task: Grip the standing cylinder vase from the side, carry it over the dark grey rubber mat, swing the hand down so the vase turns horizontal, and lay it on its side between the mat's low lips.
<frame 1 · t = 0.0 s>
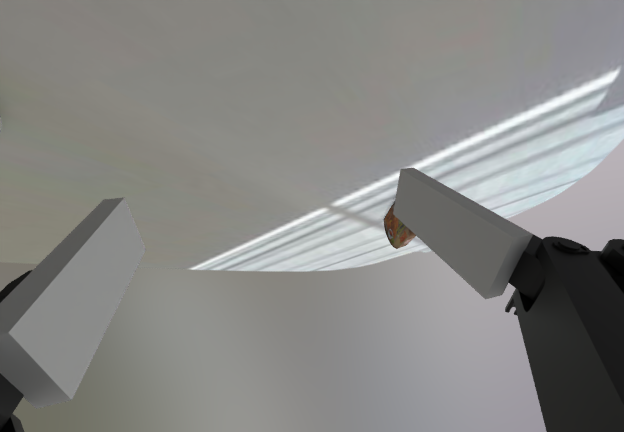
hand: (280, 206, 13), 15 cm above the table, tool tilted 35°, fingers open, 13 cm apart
tin: (393, 209, 62), on the table
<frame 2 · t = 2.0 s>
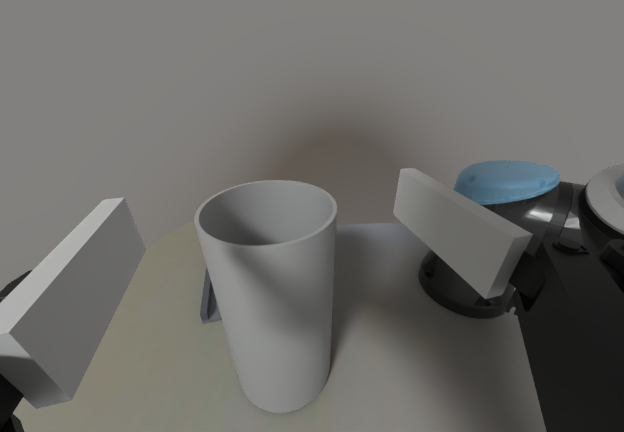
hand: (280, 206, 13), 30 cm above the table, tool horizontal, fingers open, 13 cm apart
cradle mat: (253, 257, 56), on the table
cylinder vase: (285, 364, 36), on the table
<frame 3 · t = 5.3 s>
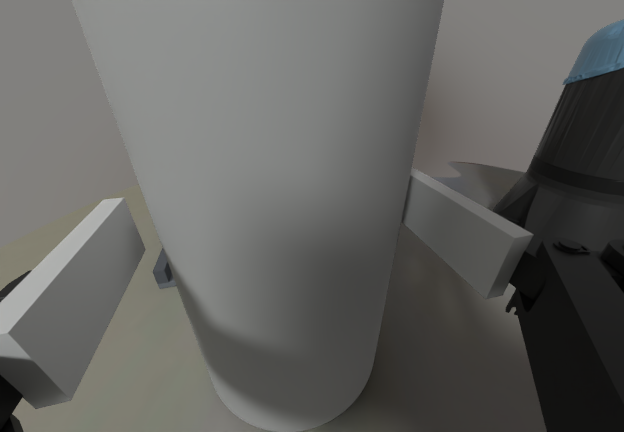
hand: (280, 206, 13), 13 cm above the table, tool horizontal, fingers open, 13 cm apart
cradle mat: (247, 208, 40), on the table
cylinder vase: (293, 342, 21), on the table, touching gripper
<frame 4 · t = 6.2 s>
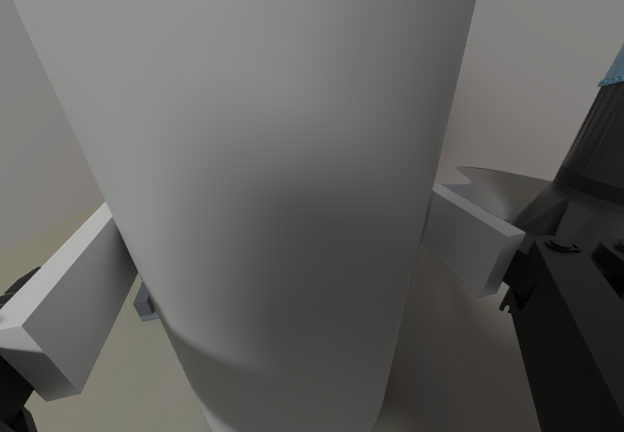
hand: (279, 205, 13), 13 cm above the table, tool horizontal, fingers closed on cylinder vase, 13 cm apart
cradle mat: (243, 221, 37), on the table
cylinder vase: (296, 366, 19), on the table, touching gripper
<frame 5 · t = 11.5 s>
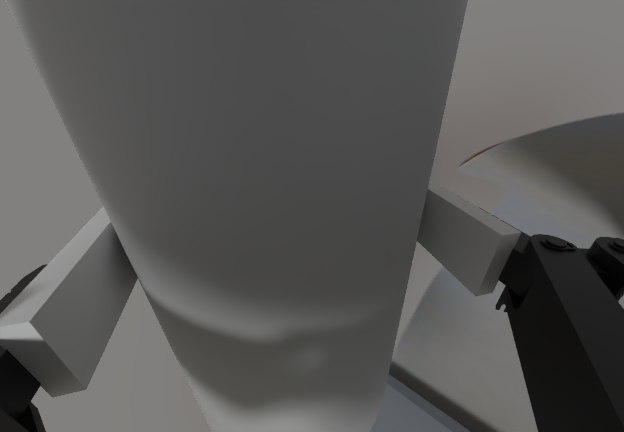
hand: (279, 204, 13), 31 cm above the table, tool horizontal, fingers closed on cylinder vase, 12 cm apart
cylinder vase: (296, 366, 19), point 20 cm above the table, touching gripper
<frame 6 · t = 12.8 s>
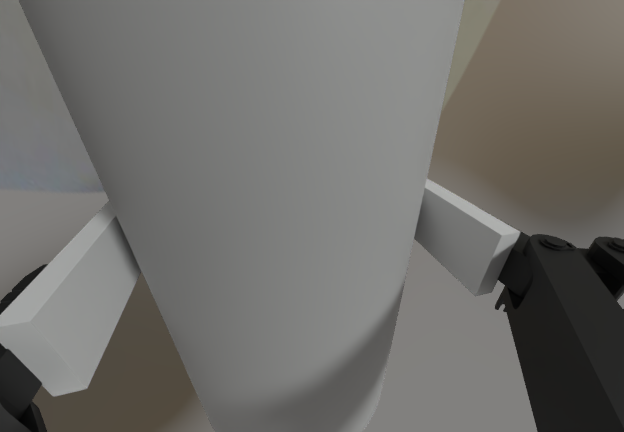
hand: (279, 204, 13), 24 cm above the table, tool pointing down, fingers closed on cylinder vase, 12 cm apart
cylinder vase: (294, 361, 19), point 25 cm above the table, touching gripper
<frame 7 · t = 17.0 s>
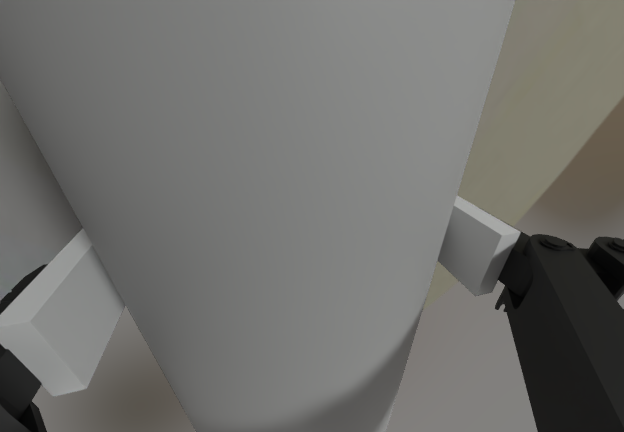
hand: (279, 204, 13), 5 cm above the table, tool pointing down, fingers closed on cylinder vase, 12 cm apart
cylinder vase: (297, 378, 18), point 7 cm above the table, touching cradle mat, gripper
when the fingers open (5 cm above the table, at t = 17.6 s): cylinder vase stays where it is, resting on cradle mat.
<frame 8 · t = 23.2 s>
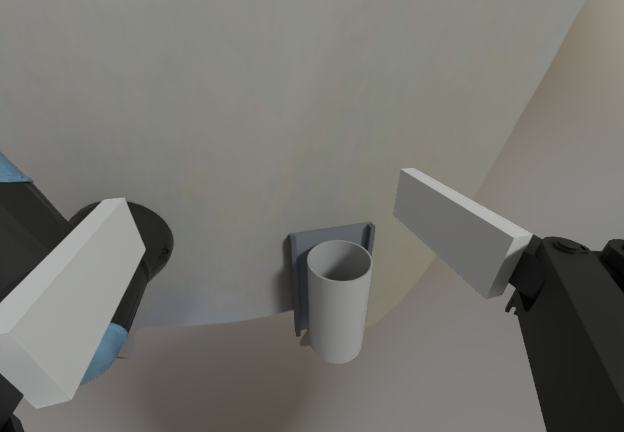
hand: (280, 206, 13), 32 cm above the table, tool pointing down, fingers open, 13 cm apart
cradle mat: (329, 280, 61), on the table
cylinder vase: (335, 340, 62), point 7 cm above the table, touching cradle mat
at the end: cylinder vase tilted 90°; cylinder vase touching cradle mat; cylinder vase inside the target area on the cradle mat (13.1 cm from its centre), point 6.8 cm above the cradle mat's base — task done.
